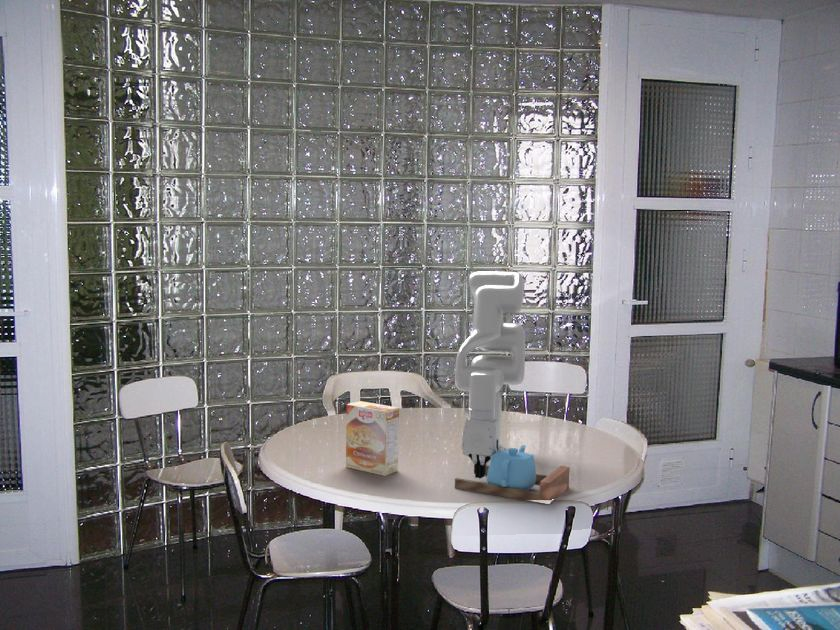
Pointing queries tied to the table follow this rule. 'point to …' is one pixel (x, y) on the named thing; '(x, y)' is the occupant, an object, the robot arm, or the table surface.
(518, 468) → the teapot
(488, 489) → the guide track
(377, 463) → the coffeecake box
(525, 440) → the table surface
